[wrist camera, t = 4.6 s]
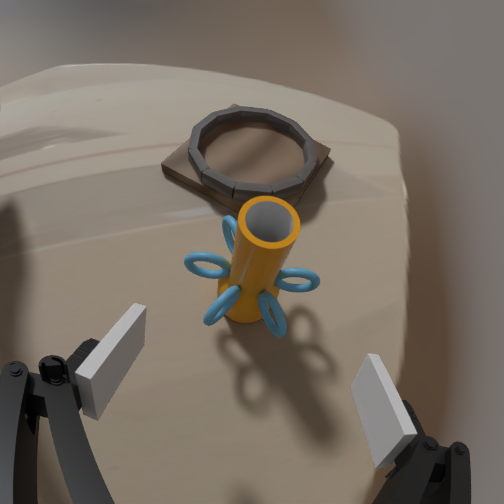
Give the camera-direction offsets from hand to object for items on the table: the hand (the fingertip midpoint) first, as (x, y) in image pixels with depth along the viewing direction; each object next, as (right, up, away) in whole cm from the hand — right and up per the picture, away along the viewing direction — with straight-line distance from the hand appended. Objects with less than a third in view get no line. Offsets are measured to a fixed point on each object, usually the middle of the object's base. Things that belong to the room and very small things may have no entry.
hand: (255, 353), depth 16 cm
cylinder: (-1, +1, +16) cm, 16 cm away
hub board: (0, +19, +26) cm, 32 cm away
